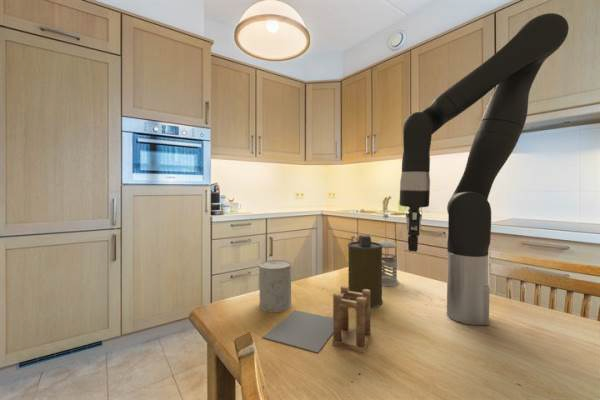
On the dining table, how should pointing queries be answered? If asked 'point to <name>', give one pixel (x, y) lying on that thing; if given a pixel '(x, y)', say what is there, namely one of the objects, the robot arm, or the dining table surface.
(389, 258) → the french press
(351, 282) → the canister
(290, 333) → the mat
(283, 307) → the grey mottled cylinder
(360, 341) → the wooden dowel frame
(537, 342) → the dining table surface
